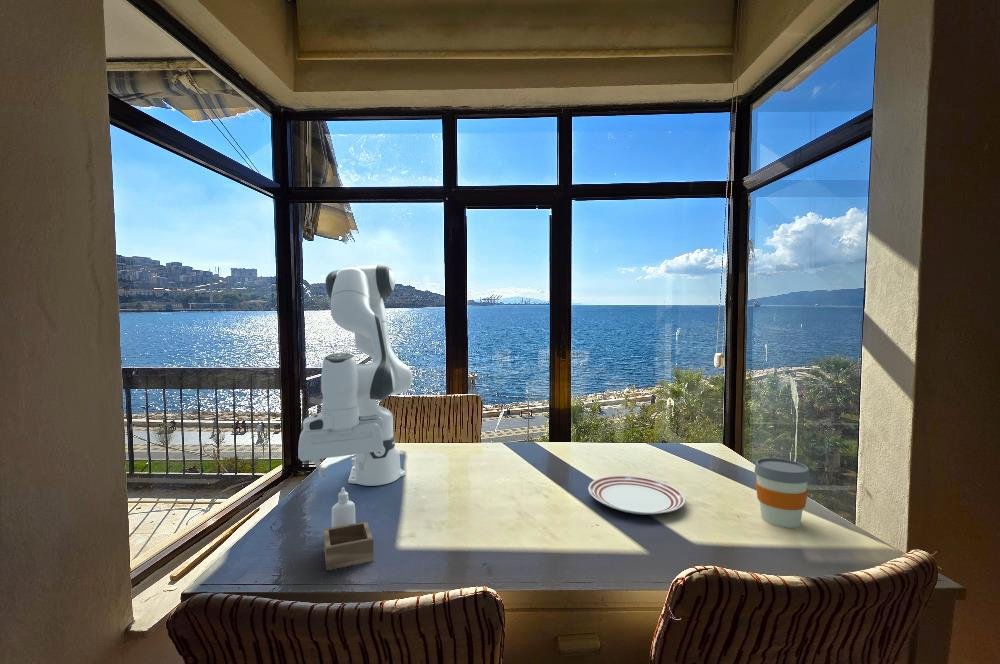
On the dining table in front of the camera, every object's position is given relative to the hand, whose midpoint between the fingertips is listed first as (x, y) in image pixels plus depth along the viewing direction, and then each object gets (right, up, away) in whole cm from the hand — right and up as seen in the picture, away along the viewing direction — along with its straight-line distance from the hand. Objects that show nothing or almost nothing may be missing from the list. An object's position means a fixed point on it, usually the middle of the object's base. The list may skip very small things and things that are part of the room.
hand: (342, 472), depth 116 cm
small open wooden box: (+4, -16, -9) cm, 19 cm away
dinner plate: (+80, -15, +21) cm, 84 cm away
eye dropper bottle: (0, -16, +1) cm, 16 cm away
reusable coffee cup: (+115, -15, +8) cm, 116 cm away
